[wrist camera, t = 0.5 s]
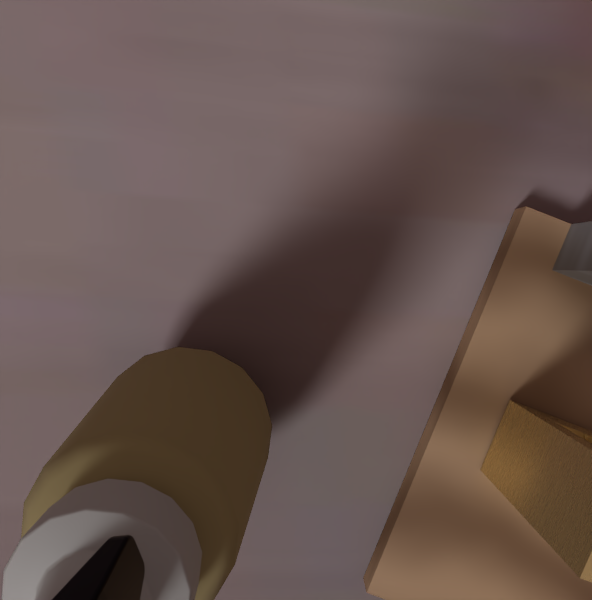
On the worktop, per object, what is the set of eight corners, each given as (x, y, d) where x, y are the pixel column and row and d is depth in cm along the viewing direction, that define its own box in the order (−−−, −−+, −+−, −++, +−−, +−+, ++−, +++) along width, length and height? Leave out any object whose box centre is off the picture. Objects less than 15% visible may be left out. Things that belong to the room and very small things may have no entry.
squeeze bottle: (298, 437, 26) (334, 845, 8) (168, 501, 26) (-77, 1039, 8) (231, 307, 25) (107, 445, 7) (97, 374, 25) (-345, 668, 8)
